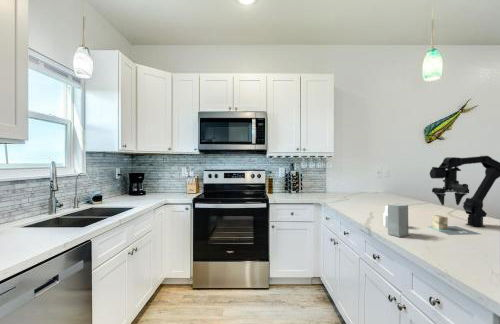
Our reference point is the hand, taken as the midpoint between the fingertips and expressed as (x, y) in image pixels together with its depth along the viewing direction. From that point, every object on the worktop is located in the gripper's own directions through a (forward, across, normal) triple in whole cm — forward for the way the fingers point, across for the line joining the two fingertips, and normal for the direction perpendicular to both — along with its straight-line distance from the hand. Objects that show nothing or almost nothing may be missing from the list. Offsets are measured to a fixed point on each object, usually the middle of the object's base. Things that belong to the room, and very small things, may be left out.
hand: (450, 205), depth 157 cm
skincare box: (+12, -42, -16) cm, 47 cm away
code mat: (+12, -7, -10) cm, 17 cm away
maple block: (+12, -12, -7) cm, 18 cm away
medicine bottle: (+12, -36, 0) cm, 38 cm away
